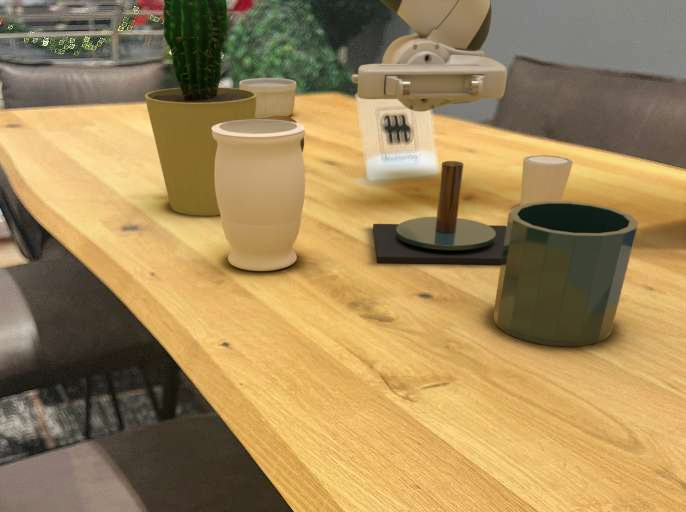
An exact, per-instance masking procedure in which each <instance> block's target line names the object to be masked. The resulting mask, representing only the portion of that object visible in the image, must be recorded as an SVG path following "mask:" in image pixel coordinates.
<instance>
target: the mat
mask: <svg viewBox="0 0 686 512" xmlns="http://www.w3.org/2000/svg"><path fill="white" fill-rule="evenodd" d="M399 224H400V223H373V224H372V231H373V239H374V247H375V255H376V262H377V264H428V265H429V264H430V265H431V264H432V265H434V264H435V265H436V264H437V265H439V264H440V265H493V266H494V265H495V266H496V265H498V266H499V265H500V266H501V261H502V254H503V248H504V241H505V235H506V228H507V225H494V224H493V225H491V224H489V225H488V224H487V225H488V226H490V227H491V228H492V229H494V231H495V233H496V236H495V240H494V242H493V243H491V244H489V245H487V246H485V247H481V248H477V249H470V250H436V249H428V248H423V247H418V246H414V245H411V244H408V243H406V242H404V241H402V240H400V239H399V238H398V237H397V236H396V227H397V226H398V225H399Z"/></svg>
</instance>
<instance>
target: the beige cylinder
mask: <svg viewBox="0 0 686 512" xmlns="http://www.w3.org/2000/svg"><path fill="white" fill-rule="evenodd" d="M573 163H574V161H573V160H571V159H569V158H568V157H564V156H563V157H562V156H557V155H546V154H545V155H544V154H542V155H529V156H525V157H524V158H523V159H522V173H521V186H520V187H521V190H520V202H519V206H520V205H524V204H527V203H535V202H544V201H563V198H564V195H565V192H566V188H567V185H568V181H569V177H570V175H571V170H572V166H573Z"/></svg>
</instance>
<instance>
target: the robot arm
mask: <svg viewBox="0 0 686 512" xmlns="http://www.w3.org/2000/svg"><path fill="white" fill-rule="evenodd" d="M378 1H380V2H381V3H382V4H383V5H384V6H386V8H388V9H389V10H390V11H392V13H394V14H395V15H398V17H400V18H401V19H402V20H403V21H404V22H405V23H406V24H407V25H408V26H409V27H410V28H411V29H412V30H413V31H414V33H412V34H407V35H403V36H399V37H398V38H396V39H394V40H393V41H392V42H391V43H390V44H389V45H388V47H387V48H386V50H385V51H384V54H383V57H382V59H381V63H368V64H361V65H360V66H359V67H358V69H357V74H356V73H353V74H351V78H350V80H351V82H352V83H353V84H357V97H358V99H362V100H397V101H399V102H400V103H401V104H402V105H403V106H404V107H405V108H407V109H409V110H410V111H414V112H428V111H431V110H433V109H438V108H439V109H440V108H442V107H445V106H450V105H456V104H467V103H475V102H478V101H480V99H495V100H497V99H502V98H503V97H504V95H505V93H506V86H507V79H508V69H507V67H506V66H505V65H504V64H503V63H501V62H499V61H497V60H495V59H493V58H490V57H486V52H485V51H483V50H481V48H482V47H483V45H484V43H485V42H486V40H487V38H488V35H489V33H490V27H491V23H492V13H493V12H492V10H493V8H492V1H491V0H378Z"/></svg>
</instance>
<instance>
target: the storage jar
mask: <svg viewBox="0 0 686 512" xmlns="http://www.w3.org/2000/svg"><path fill="white" fill-rule="evenodd" d="M638 226H639V220H637V219H636V218H634V217H633V216H632V215H631V213H628V212H625V211H622V210H619V209H617V208H612V207H608V206H603V205H598V204H595V203H587V202H578V201H565V200H562V201H544V202H535V203H527V204H524V205H520V204H519V205H518V206H515V207H512V209H510V211H509V212H508V214H507V223H506V227H507V228H506V235H505V241H504V248H503V254H502V261H501V265H500V269H499V275H498V280H497V288H496V294H495V300H494V308H493V321H494V323H495V325H496V327H498V328H499V329H500V330H501V331H502V332H504V333H505V334H508V335H510V336H512V337H514V338H517V339H518V340H522V341H526V342H529V343H532V344H533V343H534V344H538V345H544V346H550V347H563V348H565V347H572V348H573V347H584V346H589V345H594V344H597V343H598V344H599V343H601V342H602V341H604V340H606V339H607V338H608V337H609V336H610V335H611V333H612V329H613V326H614V323H615V318H616V314H617V311H618V306H619V303H620V299H621V295H622V291H623V287H624V283H625V278H626V274H627V272H628V271H627V270H628V267H629V263H630V260H631V255H632V251H633V247H634V243H635V239H636V234H637V230H638Z"/></svg>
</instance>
